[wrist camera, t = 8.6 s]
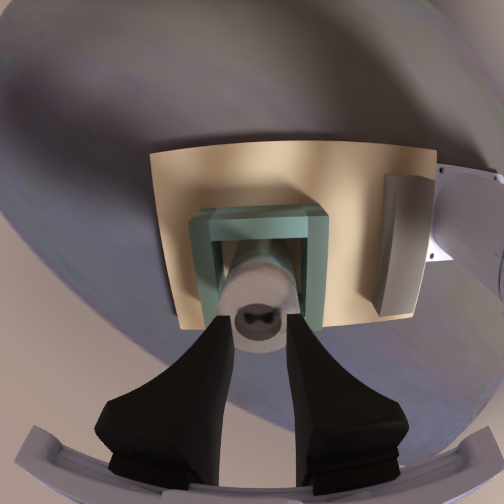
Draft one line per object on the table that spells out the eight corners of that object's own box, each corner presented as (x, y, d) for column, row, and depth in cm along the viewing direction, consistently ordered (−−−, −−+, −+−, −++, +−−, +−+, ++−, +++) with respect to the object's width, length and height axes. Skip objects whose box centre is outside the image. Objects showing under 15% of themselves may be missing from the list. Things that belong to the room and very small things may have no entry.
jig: (428, 149, 16) (461, 154, 12) (407, 309, 21) (426, 337, 18) (156, 153, 17) (129, 157, 14) (184, 320, 23) (171, 352, 19)
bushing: (292, 232, 18) (303, 286, 12) (290, 285, 20) (298, 353, 13) (231, 232, 18) (210, 285, 12) (235, 285, 20) (219, 352, 13)
